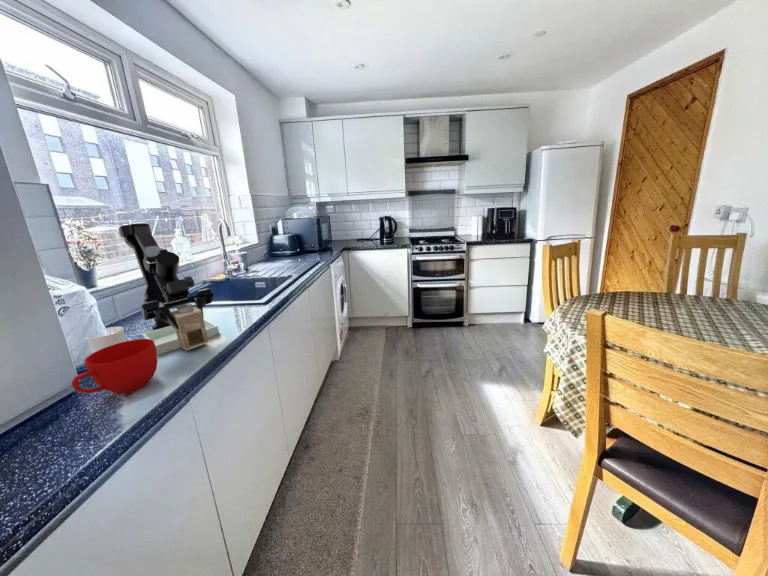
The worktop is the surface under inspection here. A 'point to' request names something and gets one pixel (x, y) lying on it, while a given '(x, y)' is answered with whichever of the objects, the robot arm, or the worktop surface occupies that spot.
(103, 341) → the white cup
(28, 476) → the worktop surface
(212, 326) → the tray
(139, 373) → the ceramic cup
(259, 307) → the worktop surface
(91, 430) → the worktop surface
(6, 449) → the worktop surface
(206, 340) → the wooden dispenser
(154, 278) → the robot arm
